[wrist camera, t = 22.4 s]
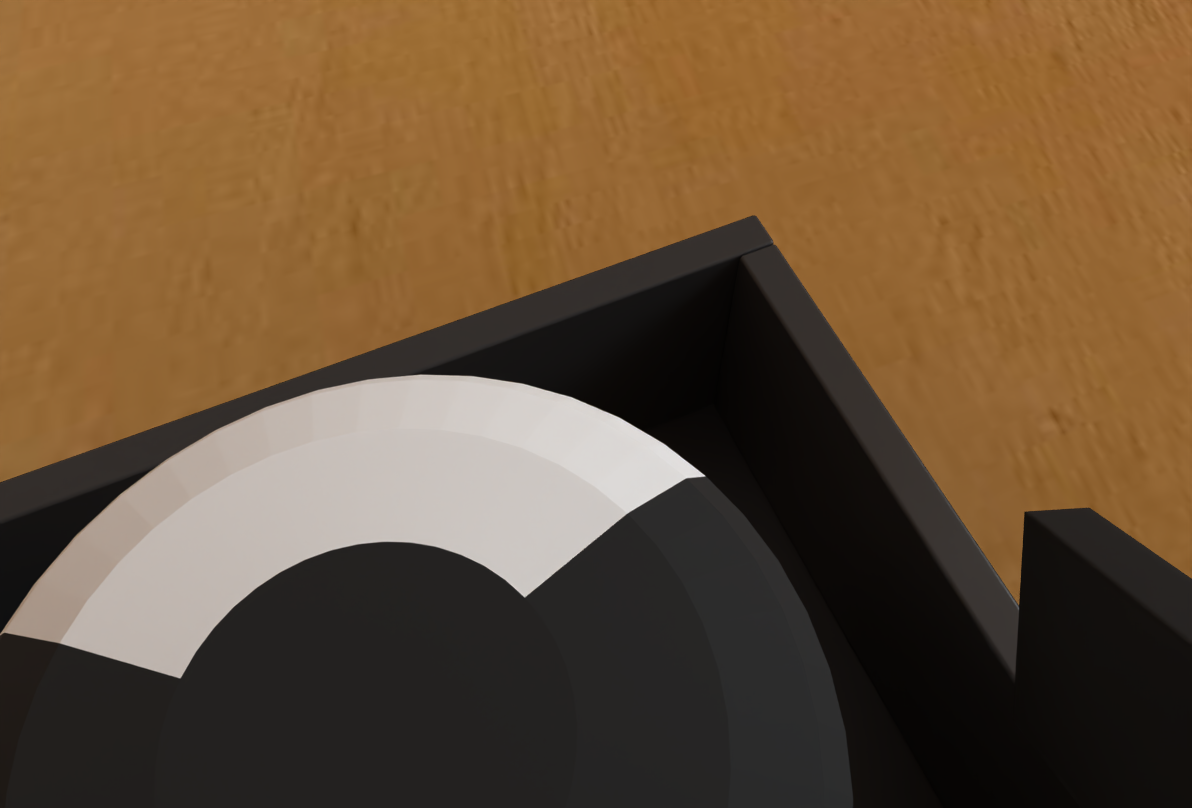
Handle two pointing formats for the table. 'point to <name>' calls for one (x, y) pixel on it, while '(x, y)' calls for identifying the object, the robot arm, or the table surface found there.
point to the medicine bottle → (419, 623)
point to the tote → (736, 467)
